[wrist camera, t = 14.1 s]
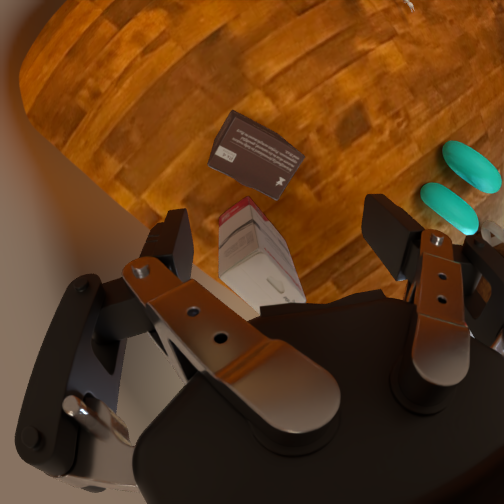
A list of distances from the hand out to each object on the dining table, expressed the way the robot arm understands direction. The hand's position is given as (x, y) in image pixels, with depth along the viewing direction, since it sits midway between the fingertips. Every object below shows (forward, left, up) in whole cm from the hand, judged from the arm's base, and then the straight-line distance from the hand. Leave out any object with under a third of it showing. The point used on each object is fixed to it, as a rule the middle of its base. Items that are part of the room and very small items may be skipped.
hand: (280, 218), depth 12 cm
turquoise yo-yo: (+28, -5, -21) cm, 35 cm away
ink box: (0, -12, -21) cm, 24 cm away
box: (0, 0, -21) cm, 21 cm away
